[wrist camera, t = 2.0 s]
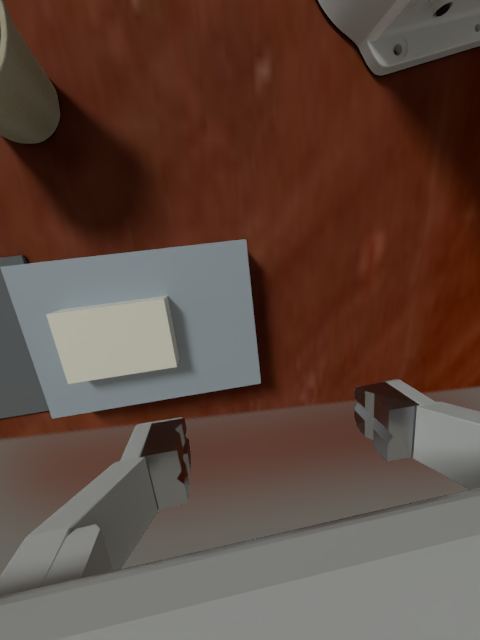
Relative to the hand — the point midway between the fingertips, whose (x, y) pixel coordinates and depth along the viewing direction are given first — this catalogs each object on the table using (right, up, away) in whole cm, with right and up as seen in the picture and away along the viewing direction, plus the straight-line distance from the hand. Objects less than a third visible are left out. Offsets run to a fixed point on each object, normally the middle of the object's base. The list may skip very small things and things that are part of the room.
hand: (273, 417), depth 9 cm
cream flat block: (-12, +2, +14) cm, 18 cm away
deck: (-10, +3, +18) cm, 21 cm away
